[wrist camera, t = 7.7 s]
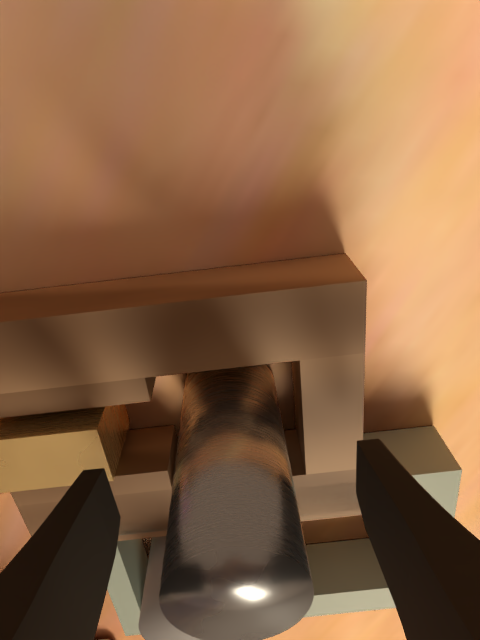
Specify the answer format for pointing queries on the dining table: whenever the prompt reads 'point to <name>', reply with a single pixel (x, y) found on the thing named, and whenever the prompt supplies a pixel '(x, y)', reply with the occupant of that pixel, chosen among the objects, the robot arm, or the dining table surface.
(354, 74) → the dining table surface
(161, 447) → the socket block
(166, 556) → the grey metal cylinder
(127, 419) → the brown rectangular block
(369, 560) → the rack
